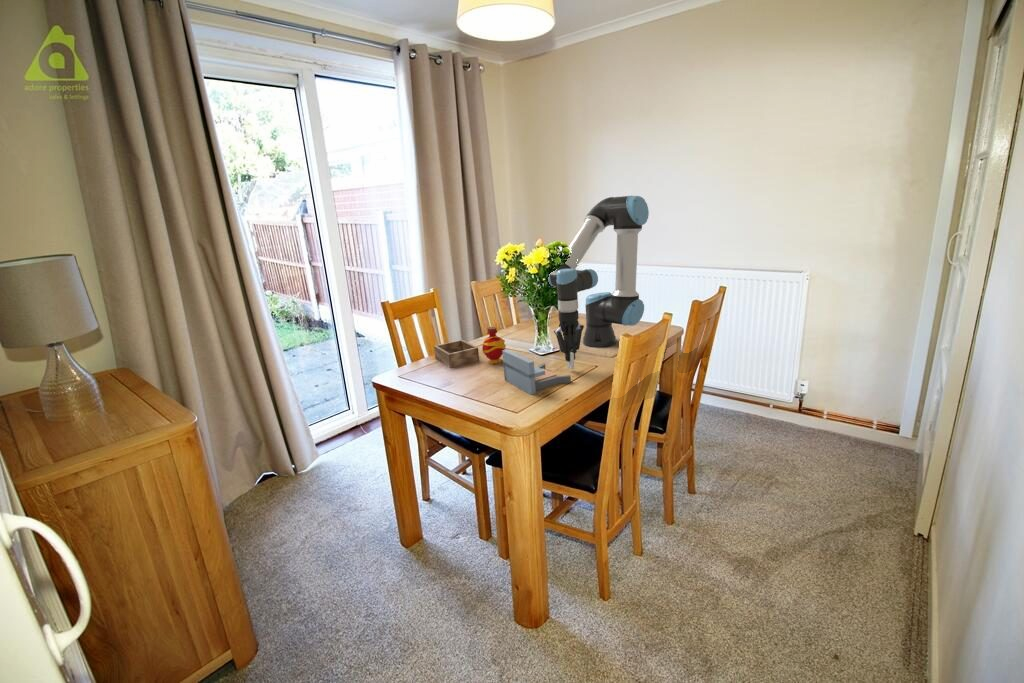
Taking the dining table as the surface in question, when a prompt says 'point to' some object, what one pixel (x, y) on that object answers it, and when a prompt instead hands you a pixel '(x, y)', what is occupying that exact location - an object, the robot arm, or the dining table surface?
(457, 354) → the walnut display tray
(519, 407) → the dining table surface
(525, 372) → the grey docking fixture
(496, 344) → the potion bottle
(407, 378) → the dining table surface
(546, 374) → the terracotta tile
